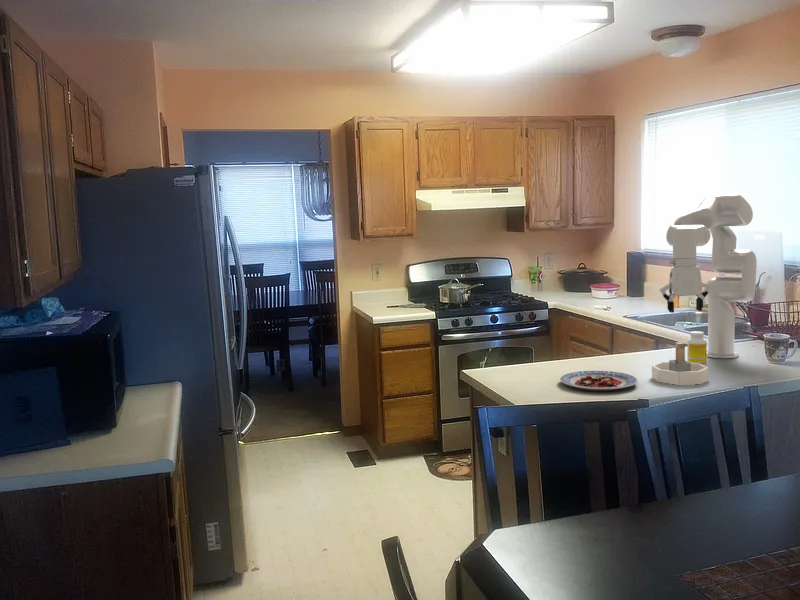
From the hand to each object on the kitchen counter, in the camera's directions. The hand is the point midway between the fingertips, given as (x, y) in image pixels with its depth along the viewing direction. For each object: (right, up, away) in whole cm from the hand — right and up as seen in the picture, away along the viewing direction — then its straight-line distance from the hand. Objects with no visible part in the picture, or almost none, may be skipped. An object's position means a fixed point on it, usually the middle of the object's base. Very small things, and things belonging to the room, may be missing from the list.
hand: (685, 311), depth 236 cm
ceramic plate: (-32, -26, -4) cm, 41 cm away
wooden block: (-2, -23, -2) cm, 23 cm away
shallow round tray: (-3, -24, -2) cm, 24 cm away
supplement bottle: (+12, -21, +18) cm, 30 cm away
